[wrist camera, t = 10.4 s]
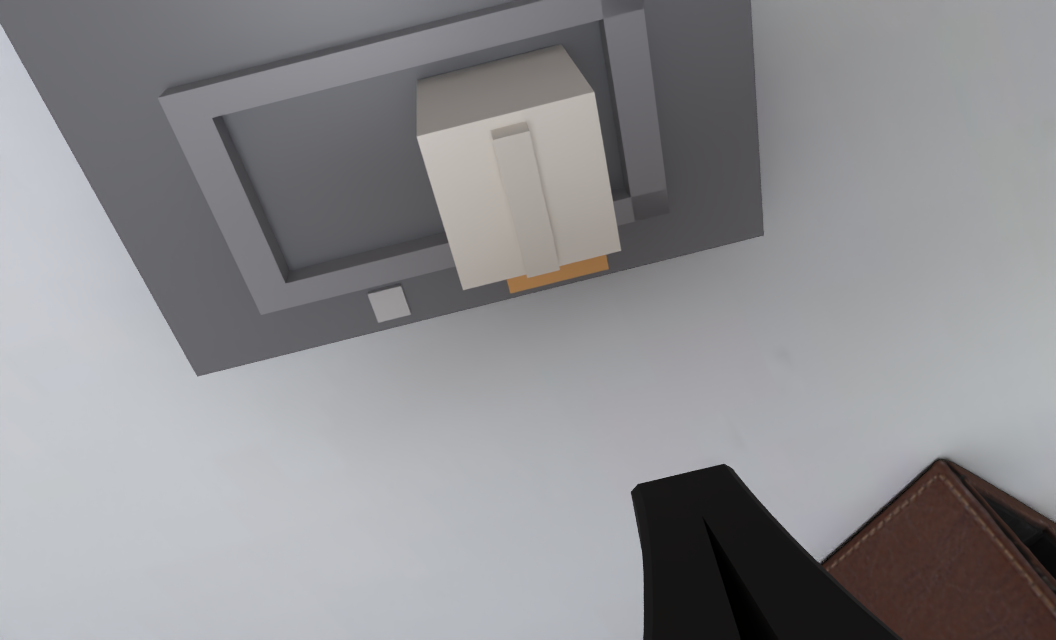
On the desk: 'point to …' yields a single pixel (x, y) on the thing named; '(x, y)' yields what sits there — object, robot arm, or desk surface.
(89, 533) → the desk surface
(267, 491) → the desk surface
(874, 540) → the letter holder
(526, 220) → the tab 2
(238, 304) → the switch bank
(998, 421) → the desk surface
